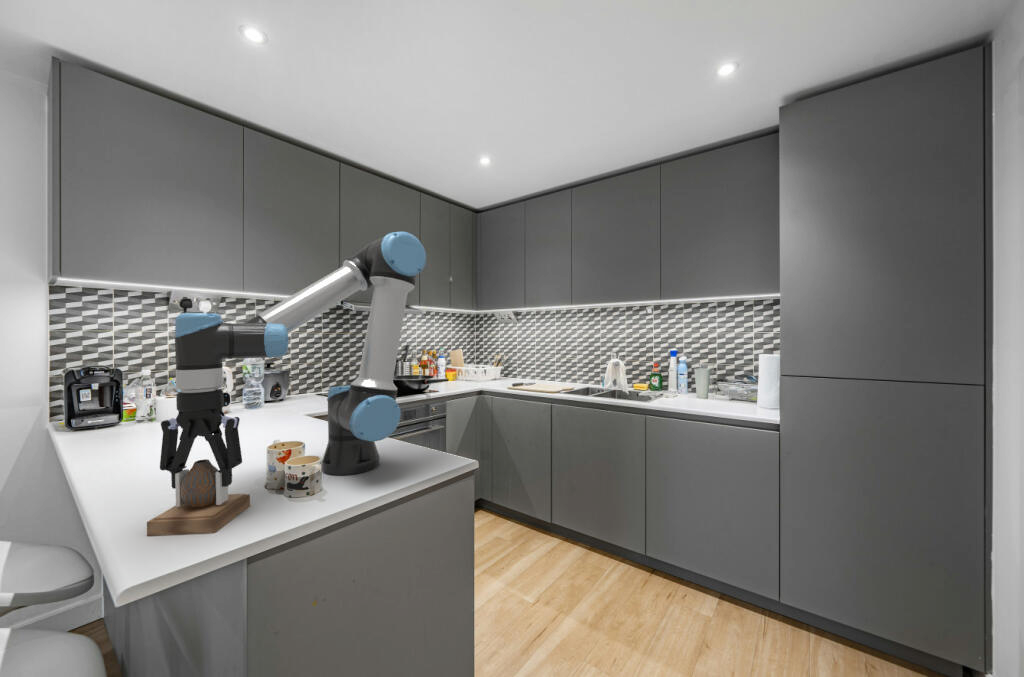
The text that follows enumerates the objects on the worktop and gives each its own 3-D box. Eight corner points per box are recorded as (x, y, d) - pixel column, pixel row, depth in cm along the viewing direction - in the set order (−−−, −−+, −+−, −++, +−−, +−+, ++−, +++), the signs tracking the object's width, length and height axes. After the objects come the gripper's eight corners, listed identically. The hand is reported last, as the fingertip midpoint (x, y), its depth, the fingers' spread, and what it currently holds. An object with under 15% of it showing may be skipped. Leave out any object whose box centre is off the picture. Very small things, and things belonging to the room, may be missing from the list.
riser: (250, 506, 89) (249, 492, 89) (214, 532, 77) (214, 517, 77) (191, 508, 88) (191, 494, 88) (147, 535, 76) (146, 520, 76)
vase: (226, 504, 83) (225, 461, 82) (182, 514, 78) (181, 469, 78) (220, 494, 88) (219, 453, 88) (179, 504, 83) (178, 461, 83)
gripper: (261, 386, 87) (263, 493, 87) (162, 388, 85) (164, 497, 86) (241, 391, 79) (243, 508, 80) (131, 393, 78) (134, 513, 78)
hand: (202, 502), depth 83 cm, fingers closed on vase, 7 cm apart
